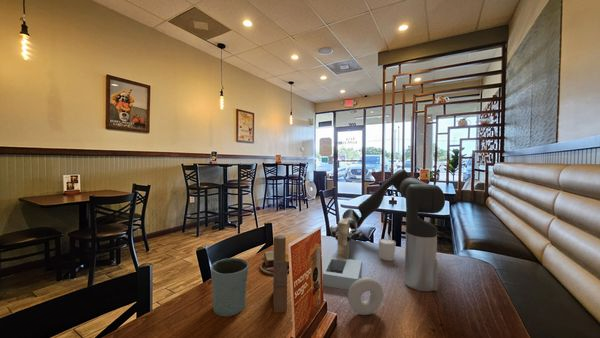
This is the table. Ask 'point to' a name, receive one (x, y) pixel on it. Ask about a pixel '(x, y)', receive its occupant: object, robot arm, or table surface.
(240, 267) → the grey-blue cup
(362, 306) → the donut
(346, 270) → the slotted base
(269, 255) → the toy sandwich meal
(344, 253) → the plank
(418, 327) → the table surface
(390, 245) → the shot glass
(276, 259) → the wooden block
